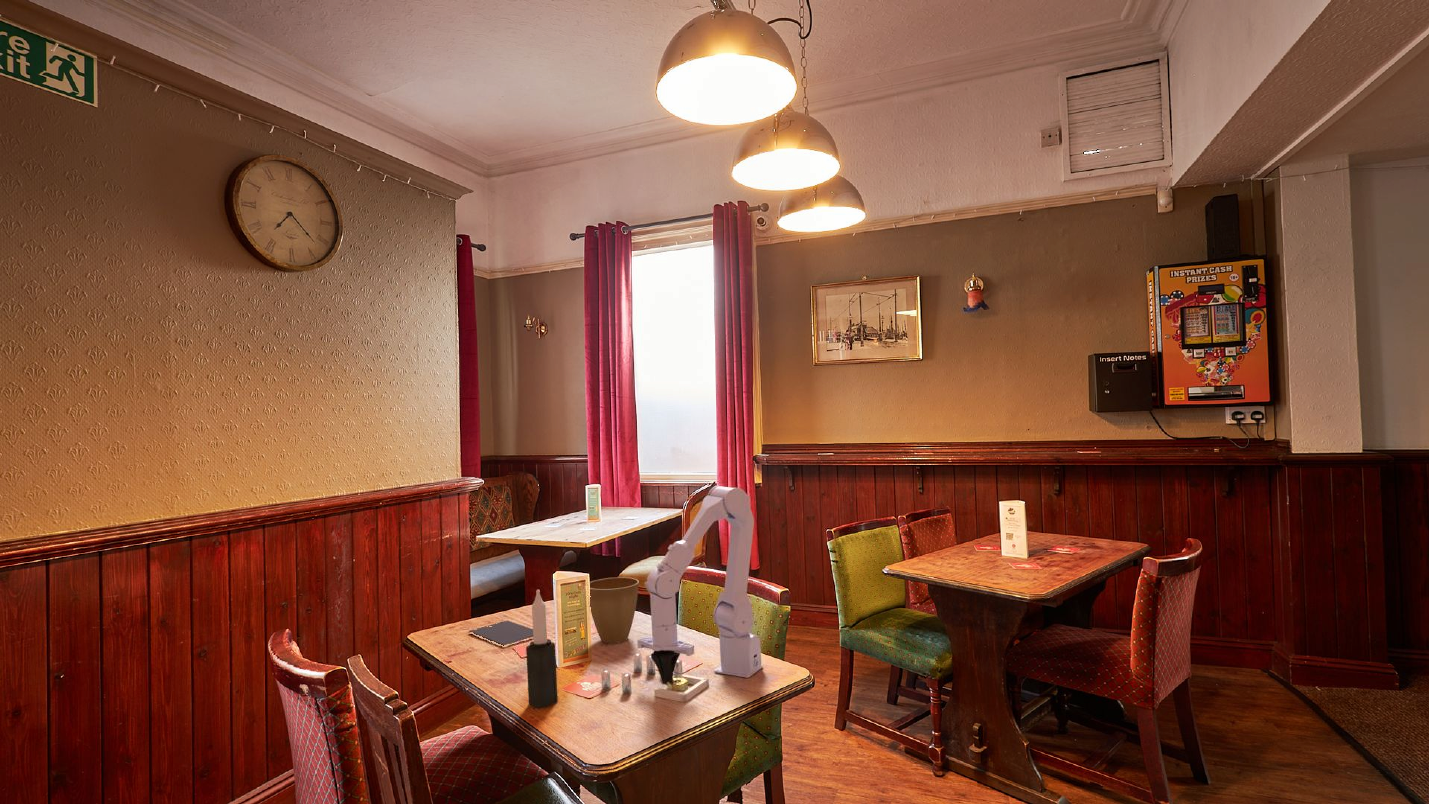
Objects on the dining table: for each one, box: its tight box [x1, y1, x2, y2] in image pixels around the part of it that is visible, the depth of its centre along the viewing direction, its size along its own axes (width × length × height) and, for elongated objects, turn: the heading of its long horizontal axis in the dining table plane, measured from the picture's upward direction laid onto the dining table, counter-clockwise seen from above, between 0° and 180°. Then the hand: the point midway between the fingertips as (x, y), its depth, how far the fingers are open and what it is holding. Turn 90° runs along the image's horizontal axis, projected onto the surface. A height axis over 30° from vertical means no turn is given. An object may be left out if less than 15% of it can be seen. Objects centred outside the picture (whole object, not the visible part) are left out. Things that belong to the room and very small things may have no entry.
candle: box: [525, 589, 559, 710], centre depth 154 cm, size 5×5×25 cm
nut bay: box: [654, 674, 710, 703], centre depth 156 cm, size 8×10×2 cm
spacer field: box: [600, 652, 684, 696], centre depth 162 cm, size 14×14×4 cm
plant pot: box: [589, 577, 640, 645], centre depth 196 cm, size 15×15×16 cm
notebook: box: [468, 620, 533, 646], centre depth 205 cm, size 13×2×21 cm
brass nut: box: [667, 677, 689, 693], centre depth 157 cm, size 4×5×2 cm
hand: (667, 682), depth 158 cm, fingers closed
